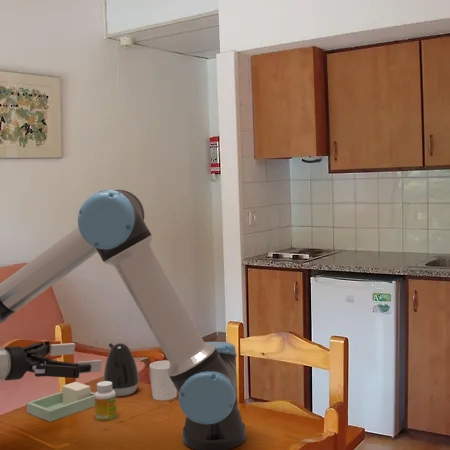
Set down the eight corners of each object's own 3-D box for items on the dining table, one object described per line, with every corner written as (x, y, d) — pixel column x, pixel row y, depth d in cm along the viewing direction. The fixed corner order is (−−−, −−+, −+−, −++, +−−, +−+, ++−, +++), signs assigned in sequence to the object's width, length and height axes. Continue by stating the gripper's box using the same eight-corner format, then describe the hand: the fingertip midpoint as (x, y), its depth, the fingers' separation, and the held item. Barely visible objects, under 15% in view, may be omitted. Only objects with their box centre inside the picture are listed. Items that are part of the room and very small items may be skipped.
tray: (100, 406, 175) (99, 394, 175) (50, 424, 163) (49, 411, 163) (76, 398, 182) (76, 386, 182) (27, 415, 170) (26, 402, 170)
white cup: (145, 399, 179) (143, 365, 179) (166, 392, 185) (164, 358, 184) (163, 405, 174) (162, 370, 173) (184, 397, 180) (183, 363, 179)
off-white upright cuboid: (91, 404, 175) (90, 386, 175) (77, 408, 172) (76, 390, 171) (76, 398, 180) (75, 381, 179) (62, 403, 176) (61, 385, 176)
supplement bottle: (112, 424, 162) (110, 387, 161) (92, 423, 163) (90, 386, 163) (119, 416, 167) (118, 380, 167) (100, 415, 169) (98, 379, 168)
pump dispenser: (126, 386, 192) (124, 337, 191) (146, 394, 184) (144, 342, 183) (97, 395, 185) (94, 343, 184) (116, 403, 177) (114, 350, 176)
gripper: (-18, 362, 154) (61, 355, 168) (24, 399, 135) (110, 388, 149) (-15, 332, 153) (65, 328, 167) (29, 365, 135) (114, 357, 149)
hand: (87, 356), depth 158 cm, fingers open, 13 cm apart
